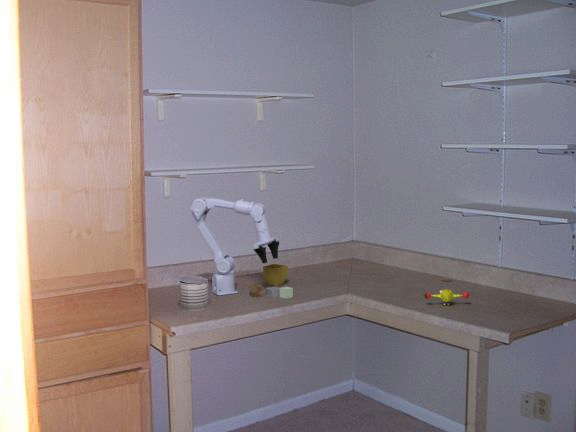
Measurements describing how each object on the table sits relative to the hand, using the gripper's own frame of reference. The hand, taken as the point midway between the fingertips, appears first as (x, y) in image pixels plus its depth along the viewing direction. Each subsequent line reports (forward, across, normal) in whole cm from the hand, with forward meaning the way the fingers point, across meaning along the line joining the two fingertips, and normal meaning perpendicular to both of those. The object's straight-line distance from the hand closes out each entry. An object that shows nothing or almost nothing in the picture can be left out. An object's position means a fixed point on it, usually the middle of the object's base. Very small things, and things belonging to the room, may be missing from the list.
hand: (270, 260), depth 275 cm
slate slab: (+15, -1, +1) cm, 15 cm away
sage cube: (+16, -1, -5) cm, 17 cm away
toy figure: (+32, +24, -65) cm, 76 cm away
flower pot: (+14, +14, +13) cm, 24 cm away
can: (+9, -37, +14) cm, 40 cm away
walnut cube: (+13, -8, +6) cm, 17 cm away
